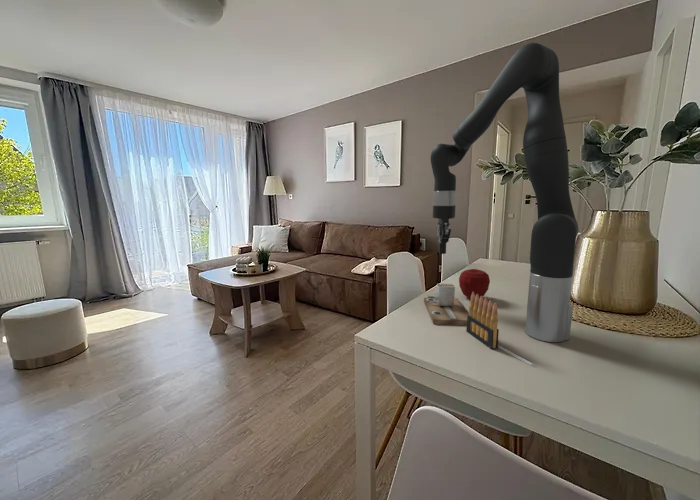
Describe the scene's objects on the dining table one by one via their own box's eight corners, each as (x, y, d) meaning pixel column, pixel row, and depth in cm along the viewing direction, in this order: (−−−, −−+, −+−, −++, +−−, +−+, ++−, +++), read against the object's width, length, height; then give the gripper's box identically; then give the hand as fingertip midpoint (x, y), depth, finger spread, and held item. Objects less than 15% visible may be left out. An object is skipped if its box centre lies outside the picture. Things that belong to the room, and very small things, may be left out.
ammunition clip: (498, 348, 73) (501, 303, 71) (491, 349, 72) (494, 303, 70) (471, 330, 83) (474, 290, 81) (466, 331, 82) (468, 290, 80)
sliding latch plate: (457, 302, 106) (457, 294, 105) (474, 325, 86) (474, 315, 86) (423, 301, 107) (424, 293, 107) (433, 324, 88) (433, 314, 87)
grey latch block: (451, 301, 100) (452, 283, 99) (454, 305, 97) (455, 286, 95) (429, 301, 101) (429, 283, 100) (431, 305, 97) (431, 286, 96)
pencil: (533, 367, 64) (480, 338, 78) (534, 369, 64) (482, 340, 78) (535, 364, 64) (483, 335, 78) (537, 366, 64) (484, 338, 78)
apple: (459, 292, 117) (461, 264, 115) (488, 295, 112) (490, 266, 110) (456, 300, 107) (457, 270, 106) (488, 304, 103) (490, 272, 101)
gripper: (460, 204, 94) (457, 257, 97) (450, 204, 107) (448, 250, 109) (436, 204, 94) (434, 256, 97) (430, 204, 107) (428, 250, 110)
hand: (442, 253), depth 103 cm, fingers closed
